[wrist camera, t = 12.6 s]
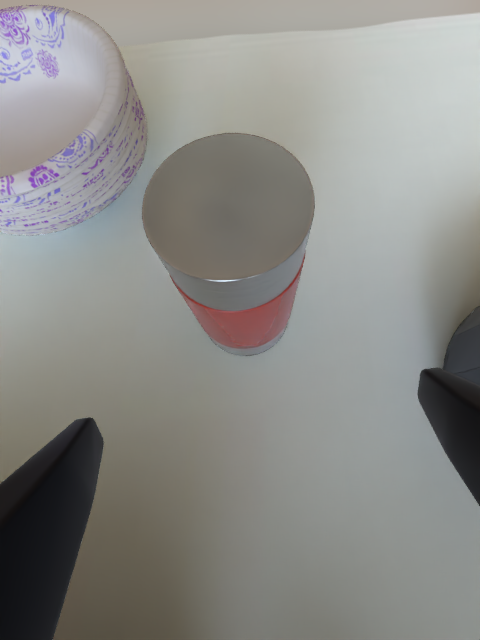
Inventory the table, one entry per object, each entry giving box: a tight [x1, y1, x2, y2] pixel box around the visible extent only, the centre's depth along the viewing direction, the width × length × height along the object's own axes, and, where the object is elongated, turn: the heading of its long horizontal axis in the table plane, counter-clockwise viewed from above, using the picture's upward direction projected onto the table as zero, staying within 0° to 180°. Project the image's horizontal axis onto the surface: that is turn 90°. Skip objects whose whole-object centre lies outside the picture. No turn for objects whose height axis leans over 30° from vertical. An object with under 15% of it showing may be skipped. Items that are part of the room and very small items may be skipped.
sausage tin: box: [142, 133, 315, 356], centre depth 17 cm, size 6×6×12 cm
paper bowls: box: [0, 5, 147, 236], centre depth 24 cm, size 15×15×8 cm
